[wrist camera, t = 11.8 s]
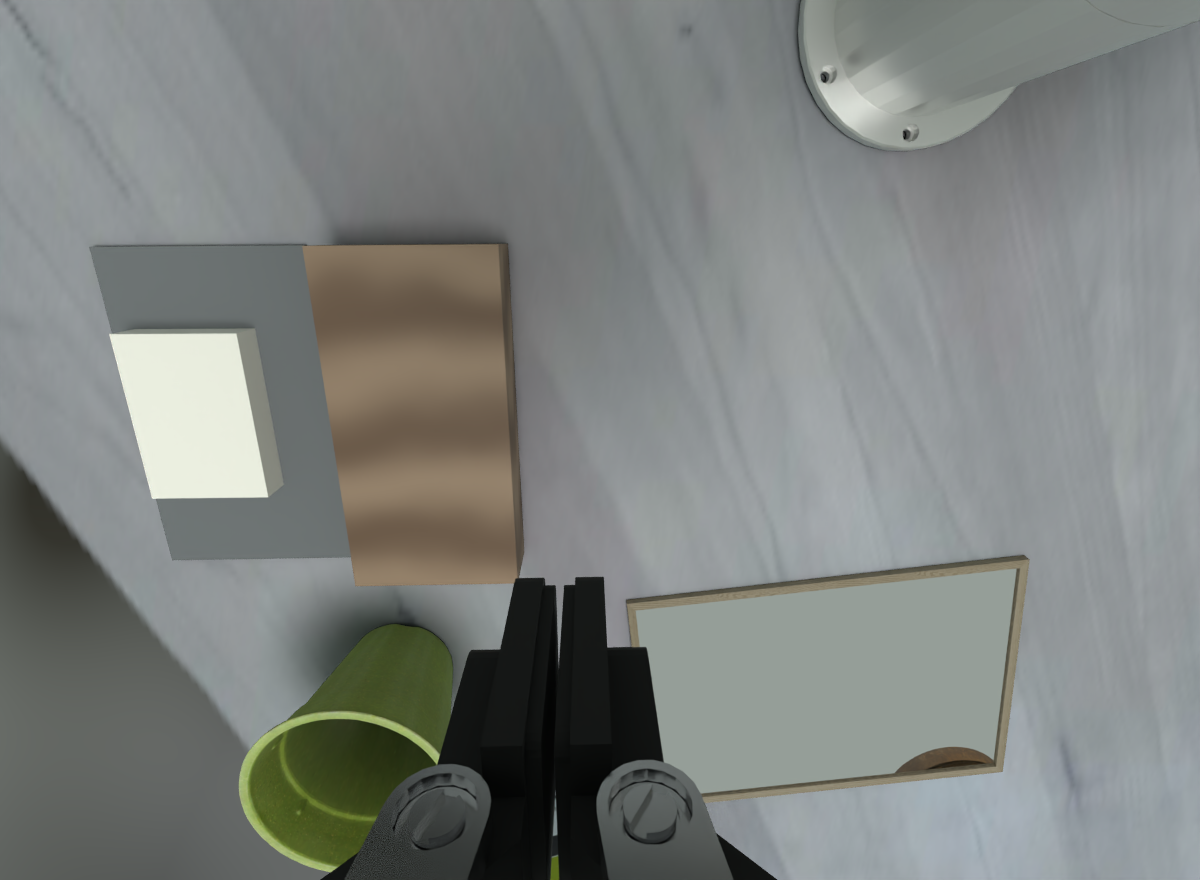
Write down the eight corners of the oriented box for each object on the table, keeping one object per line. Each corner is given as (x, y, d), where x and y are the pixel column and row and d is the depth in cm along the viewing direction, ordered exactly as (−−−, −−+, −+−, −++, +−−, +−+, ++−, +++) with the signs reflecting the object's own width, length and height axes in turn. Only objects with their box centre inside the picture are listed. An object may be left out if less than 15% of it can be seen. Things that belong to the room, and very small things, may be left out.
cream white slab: (236, 333, 34) (254, 328, 36) (109, 334, 34) (134, 328, 35) (268, 497, 37) (283, 484, 39) (152, 498, 37) (173, 485, 39)
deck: (333, 244, 35) (302, 245, 31) (507, 243, 35) (498, 244, 31) (376, 553, 41) (355, 586, 37) (524, 551, 41) (517, 583, 37)
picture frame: (1019, 552, 43) (625, 595, 43) (1029, 559, 42) (626, 604, 42) (994, 761, 49) (649, 797, 49) (1002, 771, 48) (651, 808, 48)
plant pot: (441, 749, 47) (398, 902, 36) (297, 685, 44) (205, 827, 34) (517, 639, 43) (495, 771, 33) (366, 564, 41) (289, 678, 31)
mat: (94, 246, 34) (89, 246, 34) (306, 245, 35) (303, 245, 34) (176, 557, 41) (172, 560, 40) (354, 554, 41) (352, 557, 41)
